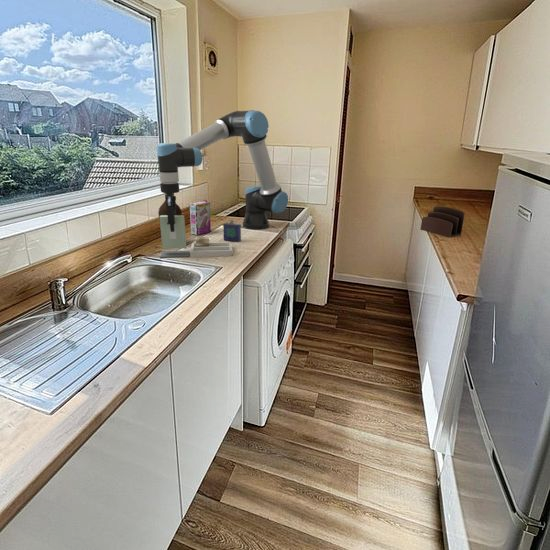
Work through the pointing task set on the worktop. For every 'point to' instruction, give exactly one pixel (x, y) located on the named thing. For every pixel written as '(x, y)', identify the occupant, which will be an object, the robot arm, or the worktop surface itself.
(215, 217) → the worktop surface
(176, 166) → the robot arm
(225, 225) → the flask
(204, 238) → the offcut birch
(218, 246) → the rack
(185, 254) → the mat
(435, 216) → the letter holder
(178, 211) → the olive oil
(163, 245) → the panel
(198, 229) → the candy bar box
